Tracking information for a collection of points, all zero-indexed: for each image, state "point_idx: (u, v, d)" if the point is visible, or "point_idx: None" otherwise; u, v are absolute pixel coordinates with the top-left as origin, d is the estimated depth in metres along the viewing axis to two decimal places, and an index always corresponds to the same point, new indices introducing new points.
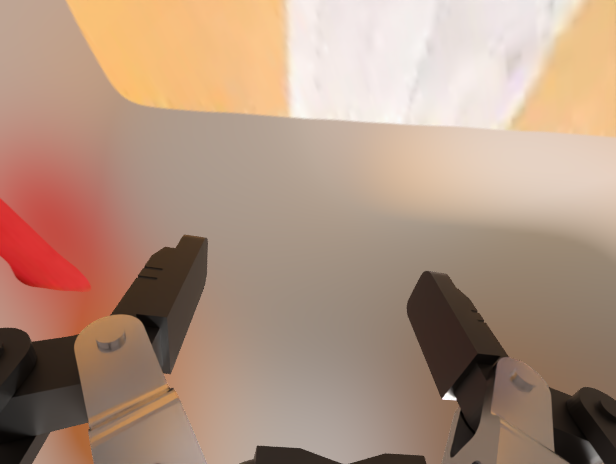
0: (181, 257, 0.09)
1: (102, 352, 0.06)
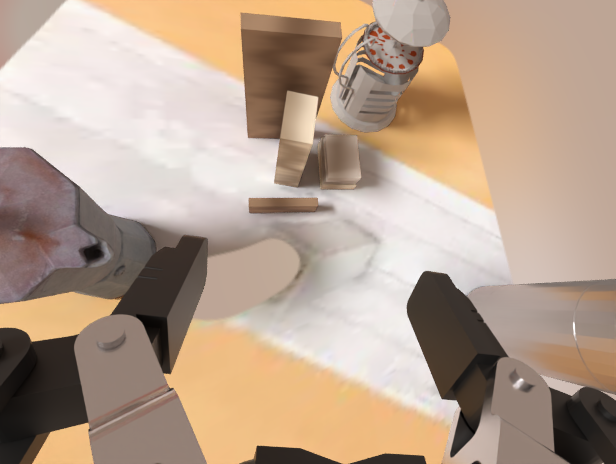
0: (181, 257, 0.09)
1: (102, 352, 0.06)
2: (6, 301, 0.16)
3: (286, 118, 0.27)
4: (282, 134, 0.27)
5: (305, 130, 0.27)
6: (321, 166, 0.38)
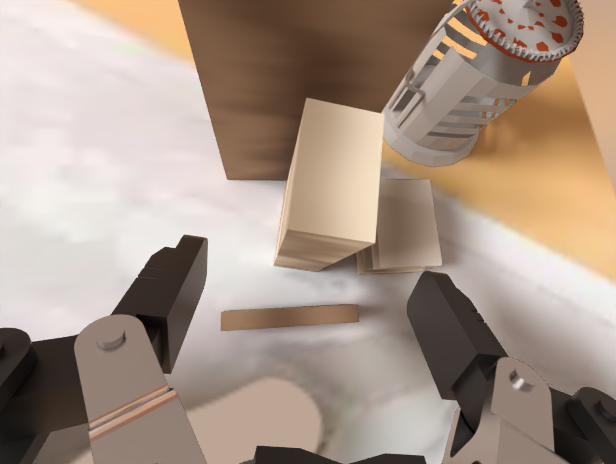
0: (181, 257, 0.09)
1: (102, 352, 0.06)
2: None
3: (304, 173, 0.10)
4: (294, 218, 0.10)
5: (354, 205, 0.10)
6: None
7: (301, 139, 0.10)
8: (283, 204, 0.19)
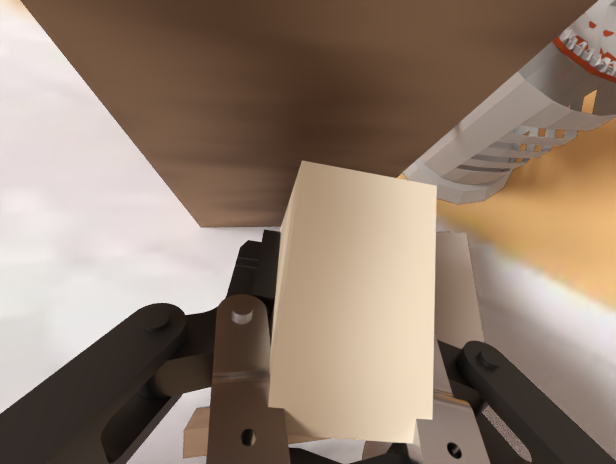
0: (269, 249, 0.10)
1: (241, 323, 0.07)
2: None
3: (298, 310, 0.05)
4: None
5: (391, 368, 0.06)
6: None
7: (293, 241, 0.06)
8: None
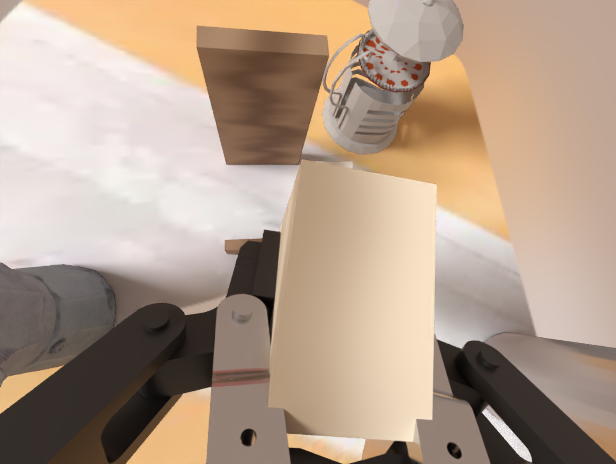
0: (269, 249, 0.10)
1: (241, 323, 0.07)
2: None
3: (298, 308, 0.05)
4: (277, 407, 0.05)
5: (391, 366, 0.06)
6: None
7: (292, 240, 0.06)
8: None
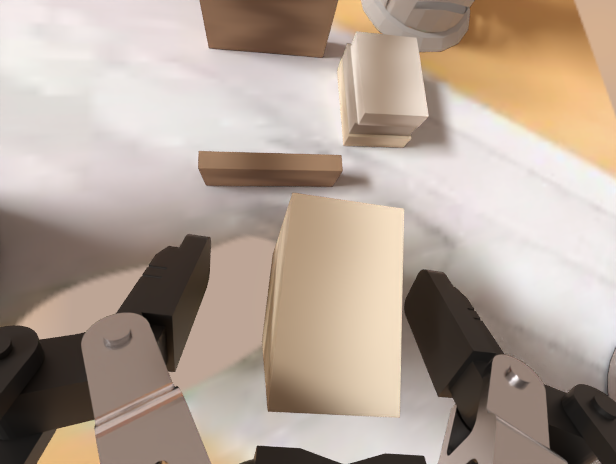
0: (185, 256, 0.09)
1: (109, 349, 0.06)
2: None
3: (292, 315, 0.07)
4: (277, 392, 0.06)
5: (367, 358, 0.07)
6: (346, 100, 0.20)
7: (286, 259, 0.07)
8: (271, 273, 0.16)
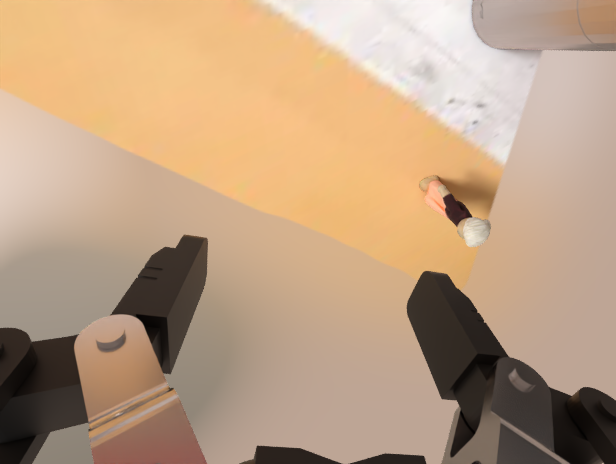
0: (181, 257, 0.09)
1: (102, 352, 0.06)
2: None
3: None
4: None
5: None
6: None
7: None
8: None
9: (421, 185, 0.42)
